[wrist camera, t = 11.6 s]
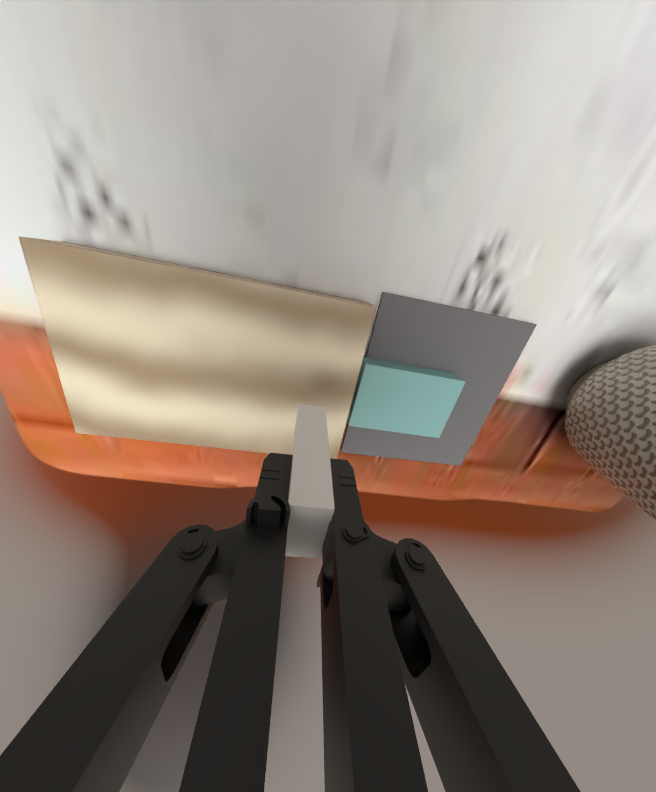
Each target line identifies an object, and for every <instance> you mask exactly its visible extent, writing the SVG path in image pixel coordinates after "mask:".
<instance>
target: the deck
mask: <svg viewBox="0 0 656 792" xmlns="http://www.w3.org/2000/svg"><path fill="white" fill-rule="evenodd" d="M19 240H20V243H21V247H22V250H23V254H24V257H25V260H26V264H27V267H28V271H29V274H30V277H31V281H32V284H33V288H34V291H35V295H36V298H37V301H38V305H39V308H40V312H41V315H42V318H43V322H44V325H45V329H46V332H47V336H48V339H49V342H50V346H51V349H52V353H53V356H54V359H55V363H56V366H57V370H58V373H59V377H60V380H61V383H62V387H63V390H64V394H65V397H66V400H67V404H68V407H69V411H70V414H71V418H72V421H73V424H74V428H75V431H76V433H82V434H92V435H101V436H110V437H120V438H129V439H139V440H148V441H158V442H167V443H176V444H186V445H195V446H205V447H214V448H223V449H233V450H242V451H252V452H261V453H280V454H289V455H291V451H292V442H293V436H294V430H295V423H296V417H297V411H298V405H299V404H305V405H312V406H320V407H325V408H326V419H327V430H328V441H329V452H330V458H332V459H337V456H338V452H339V448H340V445H341V441H342V437H343V433H344V429H345V425H346V422H347V418H348V414H349V410H350V406H351V402H352V399H353V395H354V391H355V387H356V383H357V379H358V376H359V372H360V368H361V364H362V360H363V356H364V353H365V349H366V345H367V341H368V337H369V333H370V330H371V326H372V322H373V318H374V314H375V310H376V307H374V306H372V305H370V304H369V303H366V302H361V301H356V300H351V299H346V298H341V297H336V296H331V295H326V294H321V293H316V292H311V291H306V290H301V289H296V288H291V287H286V286H281V285H276V284H271V283H266V282H261V281H256V280H251V279H246V278H241V277H236V276H231V275H226V274H221V273H216V272H211V271H206V270H201V269H196V268H191V267H186V266H181V265H176V264H171V263H166V262H161V261H156V260H151V259H146V258H142V257H137V256H132V255H127V254H122V253H117V252H112V251H107V250H102V249H97V248H92V247H87V246H82V245H77V244H72V243H67V242H61V241H52V240H43V239H35V238H26V237H19Z"/></svg>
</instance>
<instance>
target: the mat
mask: <svg viewBox="0 0 656 792" xmlns="http://www.w3.org/2000/svg"><path fill="white" fill-rule="evenodd" d="M536 325H537V324H532V323H527V322H523V321H518V320H513V319H508V318H503V317H499V316H494V315H489V314H484V313H480V312H475V311H470V310H465V309H460V308H456V307H451V306H446V305H441V304H436V303H432V302H427V301H422V300H417V299H412V298H408V297H403V296H398V295H393V294H388V293H384V292H383V293H382V296H381V300H380V304H379V308H378V311H377V315H376V319H375V323H374V327H373V330H372V334H371V338H370V342H369V346H368V349H367V353H366V357H367V358H373V359H379V360H384V361H390V362H395V363H401V364H406V365H412V366H418V367H423V368H429V369H434V370H440V371H445V372H451V373H455V374H456V375H457V376H459V377H460V378H462V379H463V380H464V381H466V382H465V384H464V387H463V389H462V391H461V393H460V395H459V397H458V399H457V401H456V403H455V405H454V408H453V410H452V412H451V414H450V416H449V418H448V420H447V422H446V424H445V426H444V429H443V431H442V433H441V435H440V437H439V438H435V437H427V436H420V435H413V434H405V433H398V432H391V431H383V430H376V429H369V428H362V427H354V426H349V425H347V429H346V432H345V436H344V440H343V444H342V448H341V452H343V453H352V454H361V455H370V456H379V457H388V458H397V459H406V460H415V461H424V462H433V463H442V464H451V465H460V466H461V464H462V462H463V460H464V458H465V457H466V455H467V453H468V451H469V449H470V447H471V445H472V444H473V442H474V440H475V438H476V436H477V434H478V432H479V431H480V429H481V427H482V425H483V423H484V421H485V419H486V418H487V416H488V414H489V412H490V410H491V408H492V406H493V405H494V403H495V401H496V399H497V397H498V395H499V393H500V392H501V390H502V388H503V386H504V384H505V382H506V380H507V379H508V377H509V375H510V373H511V371H512V369H513V368H514V366H515V364H516V362H517V360H518V358H519V356H520V355H521V353H522V351H523V349H524V347H525V345H526V343H527V342H528V340H529V338H530V336H531V334H532V332H533V330H534V329H535V327H536Z"/></svg>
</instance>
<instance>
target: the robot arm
mask: <svg viewBox="0 0 656 792" xmlns="http://www.w3.org/2000/svg"><path fill="white" fill-rule="evenodd" d="M321 553H322V557H323V564H322V568H321V571H320V574H319V577H318V581H317V587H321V588H320V590H321V591H320V592H321V634H322V635H321V637H322V678H323V679H322V681H323V725H324V726H323V727H324V772H325V792H428V789H427V785H426V780H425V775H424V771H423V766H422V762H421V757H420V752H419V748H418V743H417V739H416V734H415V729H414V725H413V721H412V716H411V711H410V706H409V702H408V697H407V693H406V688H405V684H406V687H407V690H408V692H409V695H410V698H411V700H412V703H413V706H414V709H415V711H416V714H417V716H418V719H419V722H420V725H421V727H422V730H423V732H424V735H425V738H426V741H427V743H428V746H429V748H430V751H431V754H432V757H433V759H434V762H435V764H436V767H437V770H438V772H439V775H440V778H441V780H442V783H443V786H444V789H445V791H446V792H580V790H579V789H578V787H577V785H576V784H575V782H574V781H573V779H572V778H571V776H570V774H569V773H568V771H567V769H566V768H565V766H564V765H563V763H562V761H561V760H560V758H559V757H558V755H557V754H556V752H555V750H554V749H553V747H552V746H551V744H550V742H549V741H548V739H547V737H546V736H545V734H544V732H543V731H542V729H541V728H540V726H539V724H538V723H537V721H536V720H535V718H534V717H533V715H532V713H531V712H530V710H529V708H528V707H527V705H526V704H525V702H524V701H523V699H522V697H521V695H520V694H519V692H518V691H517V689H516V687H515V686H514V684H513V683H512V681H511V679H510V678H509V676H508V675H507V673H506V671H505V670H504V668H503V667H502V665H501V663H500V662H499V660H498V659H497V657H496V655H495V654H494V652H493V651H492V649H491V647H490V646H489V644H488V642H487V641H486V639H485V638H484V636H483V634H482V633H481V631H480V630H479V628H478V626H477V625H476V623H475V622H474V620H473V618H472V617H471V615H470V614H469V612H468V610H467V609H466V607H465V606H464V604H463V602H462V601H461V599H460V598H459V596H458V594H457V593H456V591H455V590H454V588H453V586H452V585H451V583H450V582H449V580H448V578H447V577H446V575H445V574H444V572H443V570H442V569H441V567H440V565H439V564H438V562H437V561H436V559H435V557H434V556H433V554H432V553H431V552H430V551H429V549H428V548H427V547H426V546H425V545H423V544H422V543H421V542H419V541H417V540H414V539H412V538H409V539H408V538H405V539H403V540H400V541H399V543H398V544H396V543H393V542H391V541H388V540H386V539H383V538H381V537H379V536H377V535H376V534H374V533H373V532H372V531H371V530H370V528H369V526H368V525H367V524H366V523H365V522H364V519H363V516H362V511H361V506H360V501H359V496H358V491H357V488H356V481H355V476H354V471H353V468H352V466H351V465H350V463H349V462H348V461H347V460H341V459H332V458H330V452H329V441H328V430H327V419H326V408H325V407H320V406H312V405H305V404H299V405H298V411H297V417H296V423H295V430H294V436H293V442H292V451H291V455H289V454H280V453H270V454H269V455H268V456H267V457H266V458H265V459H264V462H263V466H262V470H261V474H260V479H259V482H258V486H257V491H256V495H255V498H254V499H252V500H251V501H250V503H249V505H248V507H247V515H246V519H245V520H244V521H243V522H242V523H240V524H238V525H237V526H234V527H231V528H228V529H224V530H220V531H214V529H212V528H210V527H209V526H207V525H194V526H189V527H187V528H185V529H183V530H182V531H180V532H178V533H177V534H176V535H175V536H174V537H173V538H172V539H171V540H170V542H169V543H168V544H167V545H166V547H165V548H164V549H163V550H162V552H161V553H160V554H159V555H158V557H157V558H156V559H155V561H154V562H153V563H152V564H151V566H150V567H149V568H148V569H147V571H146V572H145V573H144V575H143V576H142V577H141V578H140V580H139V581H138V582H137V583H136V585H135V586H134V587H133V588H132V590H131V591H130V592H129V593H128V595H127V596H126V597H125V599H124V600H123V601H122V602H121V604H120V605H119V606H118V607H117V609H116V610H115V611H114V613H113V614H112V615H111V616H110V618H109V619H108V620H107V621H106V623H105V624H104V625H103V626H102V628H101V629H100V630H99V632H98V633H97V634H96V635H95V637H94V638H93V639H92V640H91V642H90V643H89V644H88V645H87V647H86V648H85V649H84V650H83V652H82V653H81V654H80V656H79V657H78V658H77V660H76V661H75V662H74V663H73V664H72V666H71V667H70V668H69V670H68V671H67V672H66V673H65V675H64V676H63V677H62V678H61V680H60V681H59V682H58V684H57V685H56V686H55V687H54V688H53V690H52V691H51V692H50V694H49V695H48V696H47V697H46V699H45V700H44V701H43V702H42V704H41V705H40V706H39V708H38V709H37V710H36V711H35V713H34V714H33V715H32V716H31V718H30V719H29V720H28V721H27V723H26V724H25V725H24V726H23V728H22V729H21V730H20V732H19V733H18V734H17V735H16V737H15V738H14V739H13V740H12V742H11V743H10V744H9V746H8V747H7V748H6V749H5V750H4V752H3V753H2V754H1V756H0V792H119V791H120V789H121V787H122V785H123V783H124V781H125V779H126V777H127V775H128V773H129V771H130V769H131V767H132V765H133V763H134V761H135V759H136V757H137V755H138V753H139V751H140V749H141V747H142V745H143V743H144V741H145V739H146V737H147V735H148V733H149V731H150V729H151V727H152V725H153V723H154V721H155V719H156V717H157V715H158V713H159V711H160V709H161V707H162V705H163V703H164V701H165V699H166V697H167V695H168V693H169V691H170V689H171V687H172V686H173V684H174V682H175V680H176V678H177V676H178V674H179V672H180V669H181V668H182V666H183V664H184V662H185V660H186V658H187V656H188V654H189V652H190V650H191V648H192V646H193V644H194V642H195V640H196V638H197V636H198V634H199V632H200V630H201V628H202V626H203V624H204V622H205V620H206V618H207V616H208V614H209V612H210V610H211V608H212V606H213V604H214V602H216V601H219V600H222V599H225V598H228V599H227V603H226V606H225V610H224V614H223V619H222V622H221V626H220V630H219V634H218V638H217V643H216V646H215V650H214V654H213V658H212V662H211V666H210V670H209V675H208V678H207V682H206V686H205V691H204V694H203V698H202V702H201V706H200V710H199V714H198V718H197V722H196V726H195V730H194V734H193V738H192V742H191V746H190V750H189V754H188V758H187V762H186V766H185V770H184V774H183V778H182V782H181V786H180V790H179V792H264V783H265V772H266V761H267V750H268V739H269V727H270V717H271V705H272V694H273V684H274V673H275V662H276V650H277V640H278V629H279V618H280V606H281V595H282V585H283V574H284V562H285V556H294V557H312V558H320V556H321ZM404 682H405V683H404Z"/></svg>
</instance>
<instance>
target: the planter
mask: <svg viewBox="0 0 656 792" xmlns="http://www.w3.org/2000/svg"><path fill="white" fill-rule="evenodd" d="M565 431H566V435H567V439H568V440H569V442H570V444H571V446H572V448H573V449H574V450H575V451H576V453H577V454H578V455H579V456H580V457H581V458H582V459H583V460H584V461H585V462H586V463H587V464H588V465H589V466H590V467H591V468H593V469H594V470H595V471H596V472H597V473H598V474H599V475H600V476H602V477H603V478H604V479H605V480H606V481H608V482H609V483H610V484H611V485H612V486H613V487H615V488H616V489H617V490H618V491H619V492H621V493H622V494H623V495H624V496H626V497H627V498H628V499H630V500H631V501H632V502H633V503H635V504H636V505H637V506H639V507H640V508H641V509H642V510H643V511H645V512H646V513H647V514H648V515H650V516H651V517H652V518H653V519H655V520H656V344H655V345H651V346H647V347H644V348H640V349H637V350H634V351H632V352H629V353H626V354H624V355H622V356H620V357H618V358H616V359H614V360H611V361H607V362H605V363H602V364H599V365H597V366H595V367H593V368H592V369H590V370H589V371H587V372H586V373H585V374H583V375H582V376H581V377H580V378H579V379H578V380H577V381H576V382H575V384H574V385H573V386H572V388H571V389H570V391H569V393H568V395H567V398H566V416H565Z"/></svg>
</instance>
